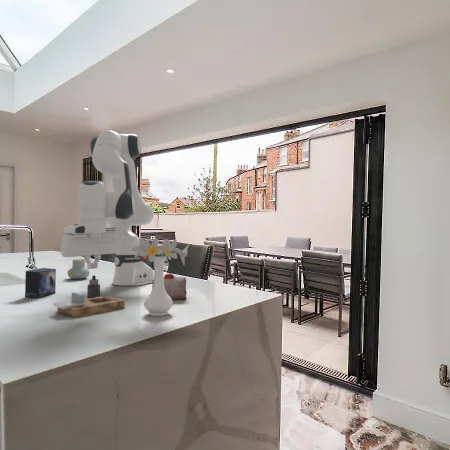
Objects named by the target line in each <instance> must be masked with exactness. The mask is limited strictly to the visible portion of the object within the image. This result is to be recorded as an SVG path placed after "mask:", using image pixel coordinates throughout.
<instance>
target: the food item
mask: <svg viewBox="0 0 450 450" xmlns="http://www.w3.org/2000/svg"><path fill="white" fill-rule="evenodd" d="M151 284H152V285H151V287H152V288H151V290H152V289H153V285H154V279H153V280H152V283H151ZM164 287H165V290H166V292H167V294H168V295H169V296H170V297H171V299H172V300H176V301H177V300H178V301H179V300H186V299H187V294H188V293H187V277H185V276H175V275H174V274H172V273H171V272H169V273H166V274H164Z"/></svg>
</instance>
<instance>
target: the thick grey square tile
mask: <svg viewBox="0 0 450 450" xmlns="http://www.w3.org/2000/svg"><path fill="white" fill-rule="evenodd" d="M84 299H85V295H84V294H82V293H78V292H75V291H73V292H71V299H70V300H63V301H56V302H53V303H52V304H53V306H54V307H56V308H58V307H59V308H61V309H66V308H72V307H78V306H83V305H84Z"/></svg>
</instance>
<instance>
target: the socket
mask: <svg viewBox="0 0 450 450" xmlns="http://www.w3.org/2000/svg"><path fill="white" fill-rule="evenodd" d="M125 306H126V305H125V300H124V299H120V298H117V297H114V296H110V295H103V296H102V295H100V297H94V298H88V299H87V298H84V305H83V306H78V307H72V308H66V309H61V308H59V307H57V311H58V312H59V313H62V314H65V315H66V316H69V317H71V318H74V319H75V318H79V317H80V318H81V317H85V316H91V315H95V314H99V313H105V312H111V311H115V310H121V309H125V308H126V307H125Z"/></svg>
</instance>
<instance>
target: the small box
mask: <svg viewBox="0 0 450 450" xmlns="http://www.w3.org/2000/svg"><path fill="white" fill-rule="evenodd" d="M56 279H57V269H56V268H49V267H41V268H35V269H30V270H25V282H24V283H25V285H24V286H25V287H24V297H25V298H29V299H41V298H45V297H47V296H50V295H51V296H52V295H55V294H56V289H57V288H56V281H57V280H56Z"/></svg>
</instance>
